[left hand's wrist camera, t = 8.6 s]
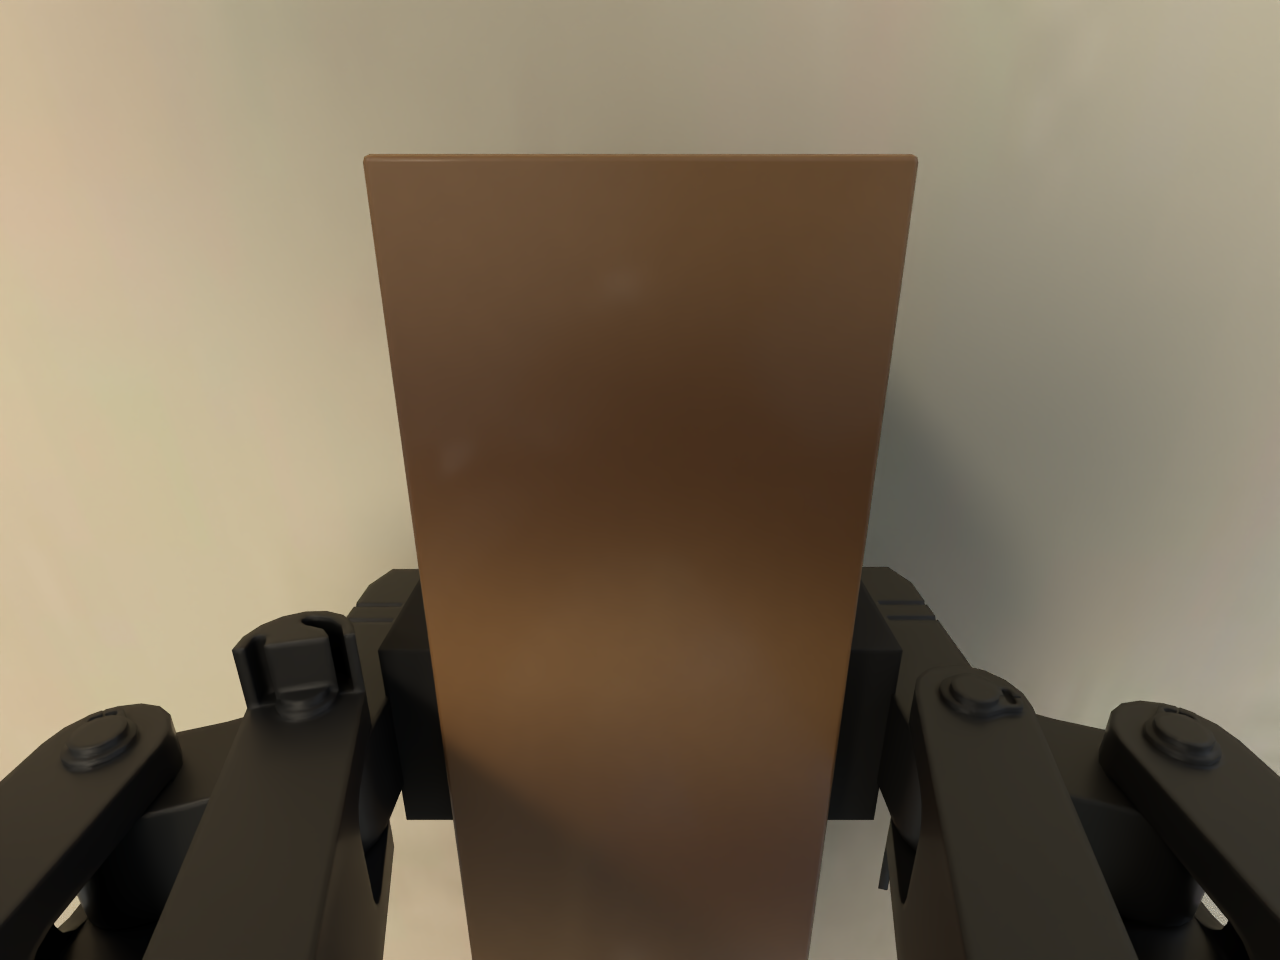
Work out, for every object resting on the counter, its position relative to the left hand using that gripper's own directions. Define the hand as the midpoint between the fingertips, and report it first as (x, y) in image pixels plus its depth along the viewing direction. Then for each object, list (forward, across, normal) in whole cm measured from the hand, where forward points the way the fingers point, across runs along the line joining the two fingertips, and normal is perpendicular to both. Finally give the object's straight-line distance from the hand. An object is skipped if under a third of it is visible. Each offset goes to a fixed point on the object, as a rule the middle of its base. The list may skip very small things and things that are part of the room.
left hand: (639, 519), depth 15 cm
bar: (+1, 0, -19) cm, 19 cm away
